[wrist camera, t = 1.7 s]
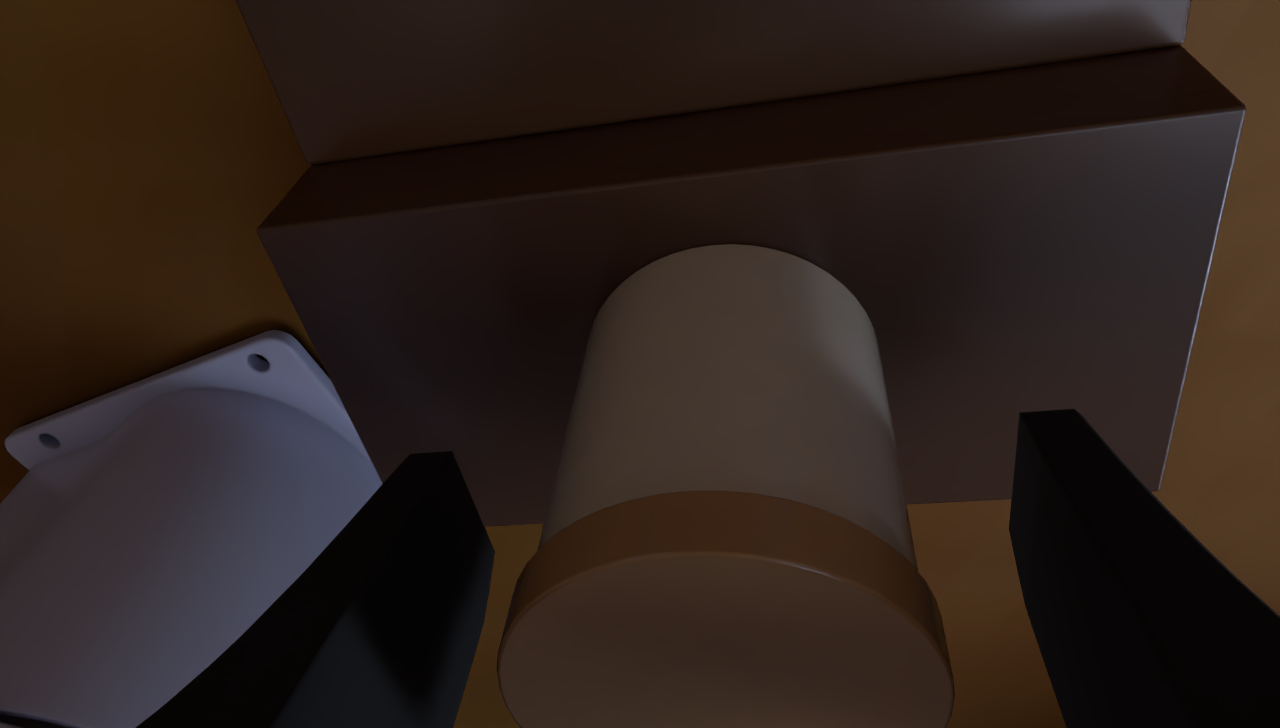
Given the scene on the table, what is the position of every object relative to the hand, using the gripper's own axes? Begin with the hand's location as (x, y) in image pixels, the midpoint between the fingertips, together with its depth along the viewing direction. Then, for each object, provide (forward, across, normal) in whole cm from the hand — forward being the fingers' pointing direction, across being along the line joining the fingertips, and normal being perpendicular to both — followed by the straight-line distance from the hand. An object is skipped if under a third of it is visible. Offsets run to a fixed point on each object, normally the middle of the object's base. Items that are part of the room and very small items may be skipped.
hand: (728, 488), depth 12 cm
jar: (+2, 0, 0) cm, 2 cm away
